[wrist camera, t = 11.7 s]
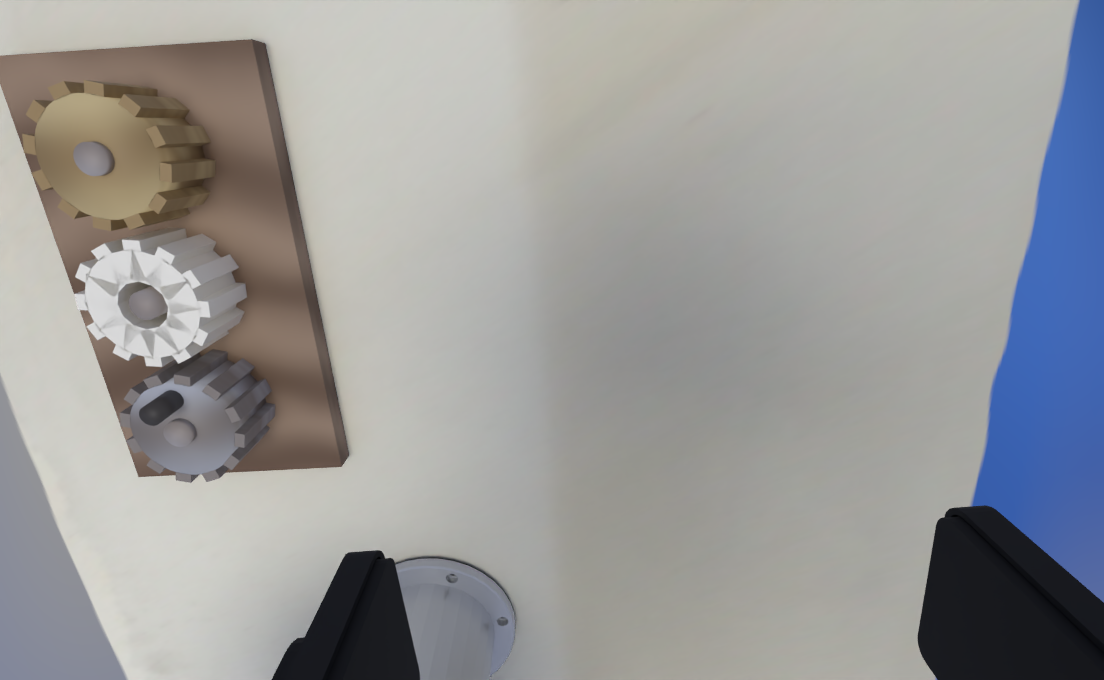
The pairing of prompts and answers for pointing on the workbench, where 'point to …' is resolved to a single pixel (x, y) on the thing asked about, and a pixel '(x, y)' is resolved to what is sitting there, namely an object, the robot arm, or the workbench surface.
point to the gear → (180, 276)
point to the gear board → (201, 208)
